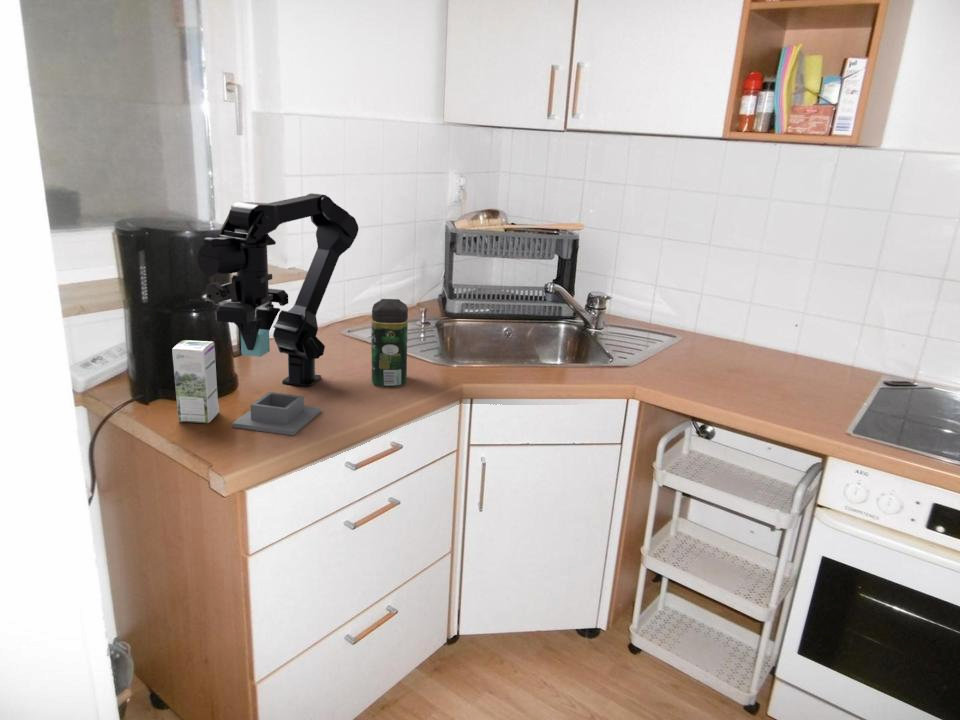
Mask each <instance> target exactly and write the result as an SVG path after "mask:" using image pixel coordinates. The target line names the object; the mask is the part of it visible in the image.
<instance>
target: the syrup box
mask: <svg viewBox="0 0 960 720" xmlns="http://www.w3.org/2000/svg"><path fill="white" fill-rule="evenodd" d="M171 349H172V351H171V352H172V353H171V355H172V363H173V375H174V384H175V386H174V387H175V398H176V407H177V408H176V409H177V418H178V422H179V423H195V424H197V423H198V424H209V423H210V422H211V421H213V419H215V418H216V417H217V415H218V414H219V413H220V407H219V397H218V385H217V384H218V383H217V382H218V381H217V367H216V363H217V362H216V349H215V342H214V341H208V340H204V341H203V340H191V339H190V340H188V339H185V340H181V341H179V342H178V343H177V344H176V345H174V347H173V348H171Z"/></svg>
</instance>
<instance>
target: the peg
mask: <svg viewBox="0 0 960 720" xmlns="http://www.w3.org/2000/svg"><path fill="white" fill-rule="evenodd" d="M270 346H271V345H270V331H269V330H266V329H259V332H258V336H257V339H256V343H255V346H254V349H253V350H248V349H247V347H246V345H245V342H244V340H243V337H242V335H241V334H240V347H241V356H250V357H259V358H261V357H262V356H264V355H266V354H269V352H271V348H270Z"/></svg>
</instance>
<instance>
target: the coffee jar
mask: <svg viewBox="0 0 960 720" xmlns="http://www.w3.org/2000/svg"><path fill="white" fill-rule="evenodd" d="M371 309H372V311H371V335H370V336H371V339H370V340H371V347H370V348H371V382H372V384H373V385H374V386H376V387H382V388H384V389H394V388H397V387H403V386H405V384H406V382H407V376H408V371H407V369H408V361H407V359H408V325H409V324H408V322H409V321H408V318H409V315H408V313H409V308H408V306H407V304H406V303H404V301H401V300H400V299H398V298H381V299H380V300H379V301H376V302H375V303H374V304H373V305H372V308H371Z"/></svg>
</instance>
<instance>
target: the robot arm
mask: <svg viewBox="0 0 960 720" xmlns="http://www.w3.org/2000/svg"><path fill="white" fill-rule="evenodd" d="M226 216H227V217H226V218H225V220H224V222H223V224H222V226H221V227H220V230H219V231H218V234H217V235H216V237H205V238H204V239H203V241H204V243H203V245H201V246H200V248H199V250H198V253H197V255H196V260H197V265H198V267H199V269H200V270H201V273H202V274H204V275H205V276H207V277H216V276H217V277H218V276H223V275H228V274H233V273H236V274H233V275H232V276H231V282H227V283H224V284H221V283H220V282H219V281H216V282H213V283H210V284H206V290H205V291H206V295H205V298H206V299H208V300H209V301H210V302H212V303H213V305H214V306H216V305H218V304H220V303H223V302H226V301H229V300H230V301H231V302H230V301H229V302H226V303H224V304H221V305H218V307H217V308H216V309H215V310H214V311H215V312H214V313H215V321H216V322H223V323H230V324H231V323H232V324H234V325H236V326H237V328H238V330H239V332H240V336H241V335H242V337H243V340H244V342H245V345H246V347H247V349H248V350H253V349H254V346H255V343H256V339H257V336H258V332H259V329H266V330H269V332H270V330H271V328H272V326H273V328H274V331H273V334H272V337H273V338H274V342H275V344H276V346H277V348H278V351H279V353H280V354H281V353H282V354H287V369H288V374H287V375H288V376H287V377H286V378H284V379H282V381H281V383H282V384H286V385H287V384H288V385H294V386H302V387H312V385H314V384H315V383H316V382H318V381H319V380H320V379H321V378H322V375H320V374H316V359H317V360H318V359H320V357H321V356H323V355H324V353H325V349H326V345H325V344H324V343H323V342H322V341H321V340H320V339H319V338H318V337H317V334H318V329H319V326H318V320H317V313H318V311H319V308H320V306H321V304H322V301H323V298H324V296H325V294H326V291H327V288H328V285H329V284H330V281H331V278H332V276H333V273H334V270H335V267H336V266H337V263H338V260H339V258H340V256H341V255H343V253H345V252H346V251H347V250H349V249H350V248H351V247H352V245H353V244H354V241H355V239H356V238H357V236H358V233H359V224H358V222H357V220H356V218H355V217H354V216H353V215H351V214H350V213H349V212H348V211H347V210H345V209H344V208H342V207H341V206H339V205H338V204H337V203H335V202H334V200H332V199H331V198H330V197H329V196H328V195H326V194H320V193H309V194H306V195H302V196H297V197H292V198H288V199H282V200H278V201H274V202H269V203H268V202H267V203H266V202H253V201H251V202H249V201H248V202H247V201H237V202H234V203H233V204H231V205H230V209H229V212H228V214H227V215H226ZM309 217H310V221H311V222H312V224H313V225H315V227H316V231H315V237H316V243H317V248H316V251H315V253H314V256H313V258H312V261H311V263H310V266H309V268H308V271H307V273H306V275H305V278H304V281H303V283H302V285H301V287H300V290H299V292H298V295H297V296H296V297H297V298H296V300H295V302H294V304H293V306H292V307H291V308H290V309H289V310H284V309H281V308H279V307H275V304H273V303H277V304H278V305H279V306H282V307H283V306H285V305H288V304H289V294H288V293H287V292H286V291H285V290H284V289H276V288H270V287H269V281H270V280H273V273H269V268H268V266H269V264H268V262H269V261H268V246H272V245H273V246H274V245H276V244H277V241H276V240H274V239H273V237H271V236H270V235H269V233H271V232H273V231H275V230H277V229H278V227H279V226H280V225H282V224H284V223H290V222H293V221H297V220H300V219H305V218H309ZM277 316H278V317H277ZM276 318H277V320H276ZM275 320H276V322H275ZM274 322H275V323H274Z"/></svg>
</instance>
